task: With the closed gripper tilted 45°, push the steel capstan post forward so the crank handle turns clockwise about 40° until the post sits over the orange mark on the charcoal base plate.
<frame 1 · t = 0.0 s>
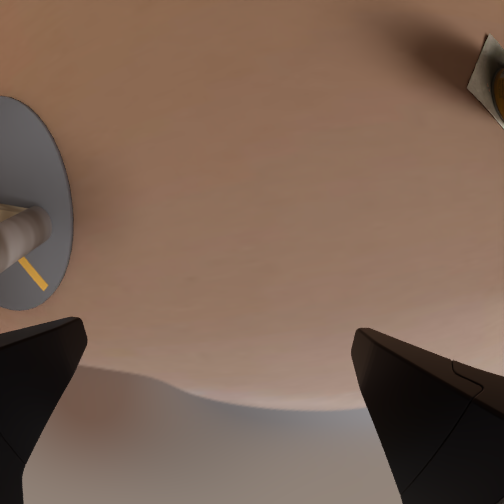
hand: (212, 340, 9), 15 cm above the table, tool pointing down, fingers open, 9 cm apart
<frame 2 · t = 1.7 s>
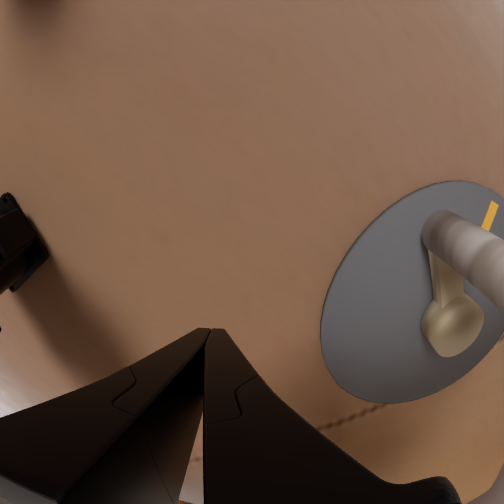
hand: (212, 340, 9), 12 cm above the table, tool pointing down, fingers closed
dial plate: (440, 308, 23), on the table
crank handle: (491, 322, 15), point 8 cm above the table, hinge at 0.0°
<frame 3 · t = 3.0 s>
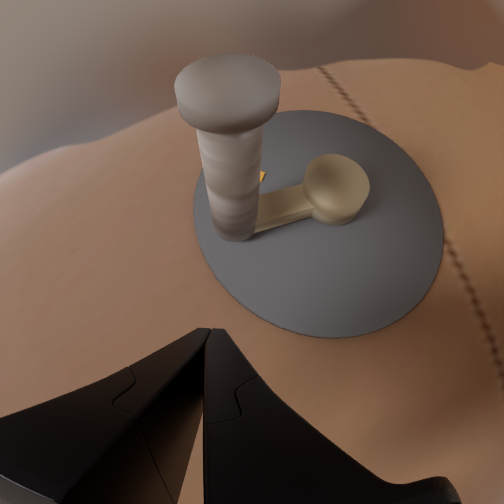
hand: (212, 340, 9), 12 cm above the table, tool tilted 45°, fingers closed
dial plate: (327, 204, 26), on the table
crank handle: (298, 155, 18), point 8 cm above the table, hinge at 0.0°
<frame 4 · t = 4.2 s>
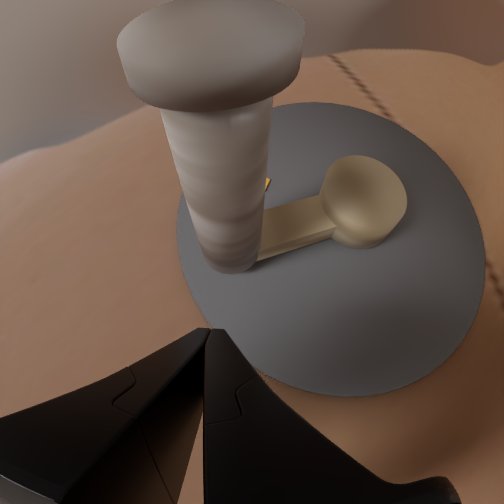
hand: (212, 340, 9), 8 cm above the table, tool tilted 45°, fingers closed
dial plate: (350, 220, 20), on the table
crank handle: (321, 155, 12), point 8 cm above the table, hinge at 0.0°
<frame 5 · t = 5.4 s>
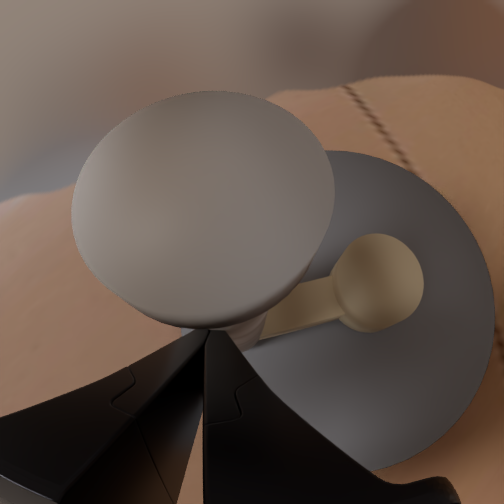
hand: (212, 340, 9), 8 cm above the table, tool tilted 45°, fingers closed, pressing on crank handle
dial plate: (361, 295, 19), on the table
crank handle: (336, 266, 11), point 8 cm above the table, hinge at -4.7°, touching gripper
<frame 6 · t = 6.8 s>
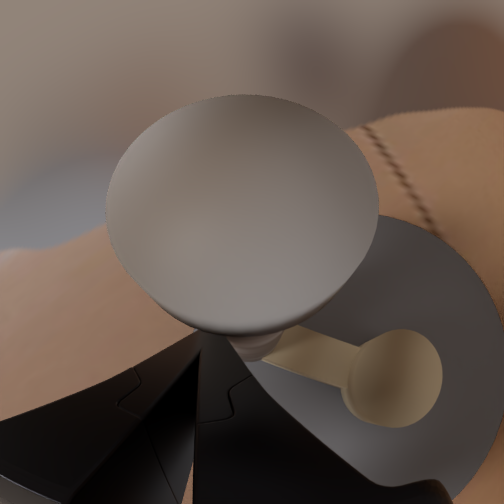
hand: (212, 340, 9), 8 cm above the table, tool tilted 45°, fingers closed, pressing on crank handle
dial plate: (375, 381, 16), on the table
crank handle: (359, 342, 10), point 8 cm above the table, hinge at -39.7°, touching gripper
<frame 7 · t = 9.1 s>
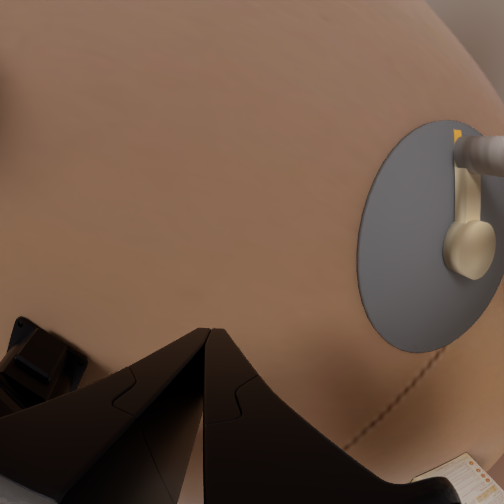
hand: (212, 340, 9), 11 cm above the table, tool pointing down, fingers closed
dial plate: (453, 241, 25), on the table
coffeecake box: (433, 474, 39), on the table
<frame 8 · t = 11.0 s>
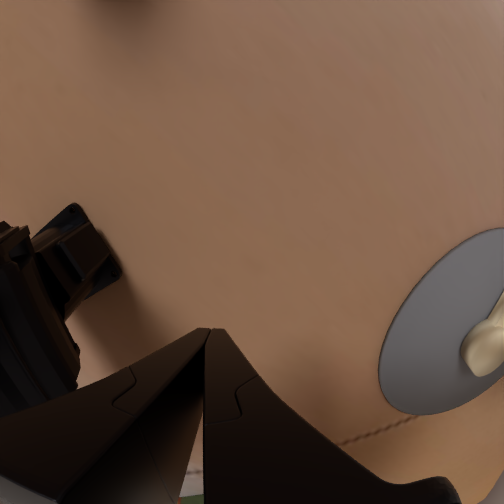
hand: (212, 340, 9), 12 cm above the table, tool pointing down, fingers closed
dial plate: (475, 334, 24), on the table
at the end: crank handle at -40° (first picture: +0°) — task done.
